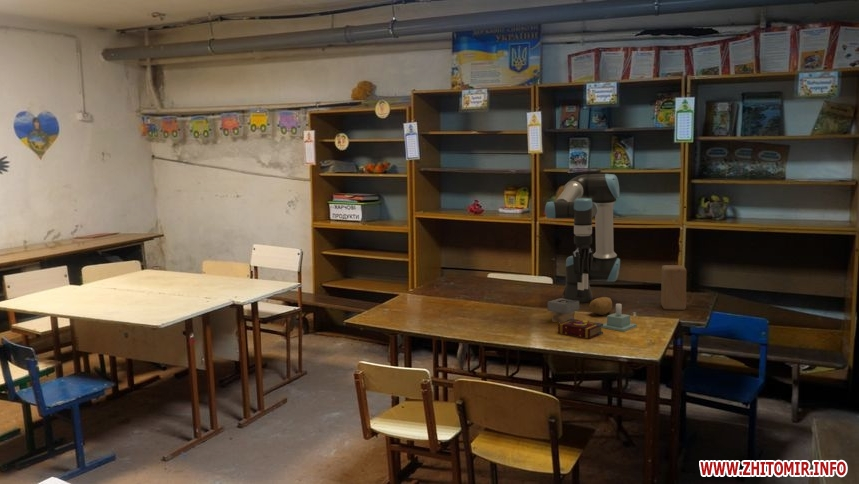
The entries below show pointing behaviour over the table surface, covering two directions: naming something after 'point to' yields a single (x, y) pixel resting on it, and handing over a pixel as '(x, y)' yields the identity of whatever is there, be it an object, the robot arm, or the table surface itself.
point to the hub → (618, 321)
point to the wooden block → (673, 287)
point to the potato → (601, 305)
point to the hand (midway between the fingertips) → (582, 289)
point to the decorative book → (580, 328)
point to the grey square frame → (563, 305)
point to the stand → (562, 316)
